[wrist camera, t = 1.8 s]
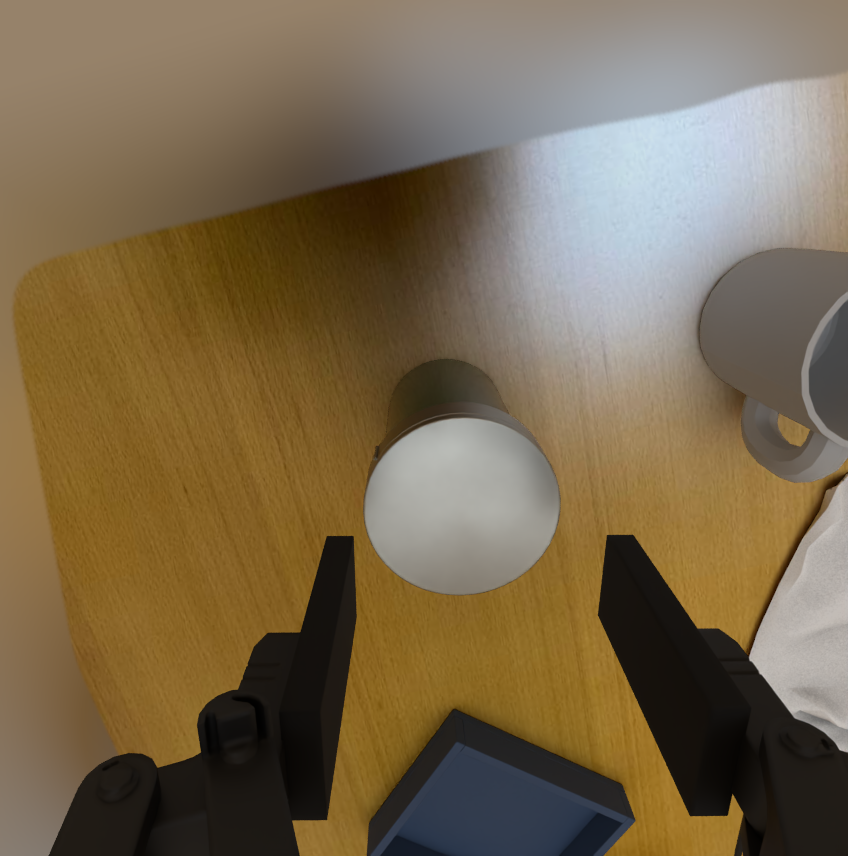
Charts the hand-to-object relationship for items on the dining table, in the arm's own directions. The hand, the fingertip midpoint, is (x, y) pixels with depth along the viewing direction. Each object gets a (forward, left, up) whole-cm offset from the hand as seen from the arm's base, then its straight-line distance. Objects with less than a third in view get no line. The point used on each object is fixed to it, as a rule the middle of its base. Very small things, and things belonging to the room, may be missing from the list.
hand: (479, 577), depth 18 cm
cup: (+12, +11, -15) cm, 22 cm away
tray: (+17, -22, -15) cm, 32 cm away
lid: (0, 0, -5) cm, 5 cm away
